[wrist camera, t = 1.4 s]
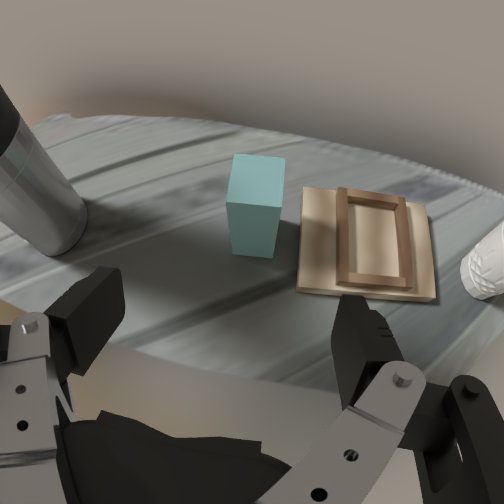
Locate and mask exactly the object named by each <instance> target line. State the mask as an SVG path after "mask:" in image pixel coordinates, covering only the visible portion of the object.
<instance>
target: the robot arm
mask: <svg viewBox="0 0 504 504" xmlns="http://www.w3.org/2000/svg"><path fill="white" fill-rule="evenodd" d="M87 214H88V213H87V207H86V205H85V203H84V201H83V200H82V199H81V197H80V196H79V195H78V194H77V192H76V191H75V190H74V189H73V187H72V186H71V184H70V183H69V182H68V181H67V179H66V178H65V177H64V175H63V174H62V173H61V171H60V170H59V169H58V167H57V166H56V165H55V163H54V162H53V161H52V159H51V158H50V157H49V155H48V154H47V153H46V151H45V150H44V148H43V147H42V146H41V144H40V143H39V141H38V140H37V139H36V137H35V136H34V134H33V133H32V132H31V130H30V129H29V127H28V126H27V124H26V123H25V121H24V120H23V118H22V117H21V115H20V114H19V112H18V111H17V109H16V108H15V107H14V105H13V104H12V102H11V101H10V99H9V98H8V96H7V95H6V93H5V91H4V90H3V88H2V87H1V85H0V221H1V222H3V223H4V224H5V225H6V226H7V227H9V228H10V229H11V230H12V231H14V232H15V233H16V234H17V235H19V236H20V237H21V238H22V239H24V240H25V241H26V242H27V243H29V244H30V245H31V246H33V247H34V248H35V249H37V250H38V251H39V252H41V253H42V254H44V255H47V256H57V255H60V254H63V253H64V252H66V251H68V250H69V249H70V248H71V247H72V246H74V245H75V243H76V242H77V241H78V240H79V238H80V237H81V235H82V233H83V231H84V229H85V226H86V222H87ZM124 314H125V299H124V292H123V284H122V275H121V272H120V270H119V269H118V268H111V267H104V266H100V267H98V268H97V269H96V270H95V271H94V272H93V273H91V274H90V275H89V276H88V277H86V278H84V279H82V280H80V281H78V282H76V283H75V284H74V285H73V286H71V287H70V288H69V290H68V291H66V292H65V293H64V294H63V295H62V296H60V297H59V298H58V299H57V300H56V301H55V302H54V303H53V304H52V305H51V306H50V307H49V308H48V309H47V310H46V311H45V312H44V313H39V312H30V313H26V314H23V315H21V316H19V317H18V318H16V319H15V320H14V321H13V323H12V325H0V504H361V503H362V502H363V500H364V499H365V498H366V496H367V495H368V493H369V492H370V490H371V489H372V487H373V486H374V484H375V482H376V481H377V480H378V478H379V476H380V475H381V473H382V472H383V470H384V469H385V467H386V465H387V464H388V462H389V460H390V458H391V457H392V455H393V453H394V452H395V450H396V448H397V447H398V448H403V449H409V450H413V452H414V456H415V461H416V466H417V471H418V476H419V481H420V487H421V492H422V498H423V504H504V420H503V418H502V416H501V414H500V412H499V410H498V408H497V406H496V404H495V402H494V400H493V398H492V396H491V394H490V392H489V390H488V388H487V387H486V385H485V384H483V382H482V381H480V380H479V379H477V378H475V377H473V376H469V375H460V376H457V377H455V378H454V379H453V381H452V382H451V384H450V386H449V387H446V386H441V385H436V384H431V383H428V382H426V378H425V376H424V374H423V373H422V371H421V370H420V369H418V368H417V367H416V366H414V365H412V364H410V363H408V362H405V361H404V359H403V356H402V354H401V352H400V350H399V347H398V345H397V343H396V341H395V339H394V338H393V334H392V332H391V330H389V326H388V324H387V322H386V319H385V318H384V317H383V316H382V315H381V314H380V313H378V312H377V311H376V310H370V309H369V307H368V304H367V302H366V300H365V298H364V296H363V295H350V294H342V296H341V298H340V301H339V305H338V310H337V314H336V318H335V322H334V326H333V330H332V335H331V349H332V354H333V359H334V365H335V370H336V376H337V381H338V387H339V393H340V398H341V404H342V410H343V412H342V414H341V415H340V416H339V417H338V418H337V419H336V421H335V422H334V423H333V424H332V425H331V427H330V428H329V429H328V430H327V431H326V432H325V433H324V435H323V436H322V437H321V438H320V439H319V440H318V441H317V442H316V443H315V444H314V446H313V447H312V448H311V449H310V450H309V451H308V452H307V453H306V454H305V455H304V456H303V457H302V458H301V459H300V460H299V462H297V463H296V464H295V465H294V466H293V467H291V466H289V465H288V464H286V463H284V462H282V461H280V460H278V459H276V458H274V457H272V456H269V455H266V454H263V453H261V442H260V441H251V440H241V439H233V438H226V437H199V438H174V437H171V436H168V435H166V434H164V433H162V432H160V431H157V430H155V429H153V428H151V427H149V426H147V425H145V424H143V423H141V422H139V421H137V420H134V419H131V418H127V417H123V416H120V415H116V414H112V413H109V412H106V411H103V410H101V412H100V414H99V416H98V418H97V419H96V420H82V421H78V420H77V415H76V411H75V406H74V402H73V397H72V392H71V386H70V382H69V379H68V375H69V374H70V373H74V374H77V375H80V376H84V375H85V373H86V371H87V370H88V369H89V367H90V366H91V364H92V363H93V361H94V360H95V358H96V357H97V356H98V354H99V353H100V351H101V350H102V348H103V347H104V345H105V344H106V343H107V341H108V340H109V338H110V337H111V336H112V334H113V333H114V331H115V330H116V329H117V327H118V326H119V324H120V323H121V322H122V320H123V318H124ZM457 443H458V445H459V448H460V450H461V454H462V459H463V461H462V460H461V457H460V454H459V450H458V447H457Z"/></svg>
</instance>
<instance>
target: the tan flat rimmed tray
mask: <svg viewBox="0 0 504 504" xmlns="http://www.w3.org/2000/svg"><path fill="white" fill-rule="evenodd" d="M296 292H303V293H314V294H325V295H336V296H342V294H350V295H363V296H364V298H373V299H386V300H400V301H416V302H429V301H431V300H432V299H434V298H436V296H435V280H434V268H433V258H432V249H431V241H430V233H429V226H428V219H427V213H426V207H425V205H421V204H416V203H410V202H406V201H405V198H404V197H398V196H392V195H387V194H381V193H375V192H368V191H362V190H355V189H349V188H342V187H338V190H337V191H335V190H327V189H320V188H312V187H304V188H303V191H302V195H301V217H300V236H299V254H298V269H297V284H296Z"/></svg>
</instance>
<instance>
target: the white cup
mask: <svg viewBox="0 0 504 504" xmlns="http://www.w3.org/2000/svg"><path fill="white" fill-rule="evenodd" d="M460 274H461V280H462V283H463V285H464V287H465V289H466V291H467V292H468V293H469V294H470V295H471V296H472V297H473V298H476V299H479V300H483V299H486V298H489V297H491V296H494V295H499V294H502V293H504V220H503V221H502V222H501V223H500V224H499V225H498V226H497V227H496V228H495V229H493V230H492V231H491V232H490V233H489V234H488V235H487V236H486V237H485V238H483V239H482V240H481V241H480V242H479V243H478V244H477V245H476V246H475V247H474V248H473V249H472V250H471V251H469V252H468V253H467V254H466V255H465V257H464V258H463V259H462V262H461V267H460Z"/></svg>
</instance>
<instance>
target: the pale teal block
mask: <svg viewBox="0 0 504 504" xmlns="http://www.w3.org/2000/svg"><path fill="white" fill-rule="evenodd" d="M284 169H285V158H278V157H268V156H257V155H246V154H234V159H233V165H232V170H231V175H230V181H229V186H228V192H227V197H226V208H227V216H228V224H229V231H230V239H231V246H232V253H233V254H235V255H244V256H254V257H263V258H273V254H274V248H275V242H276V237H277V231H278V225H279V220H280V214H281V208H282V196H283V183H284Z"/></svg>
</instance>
